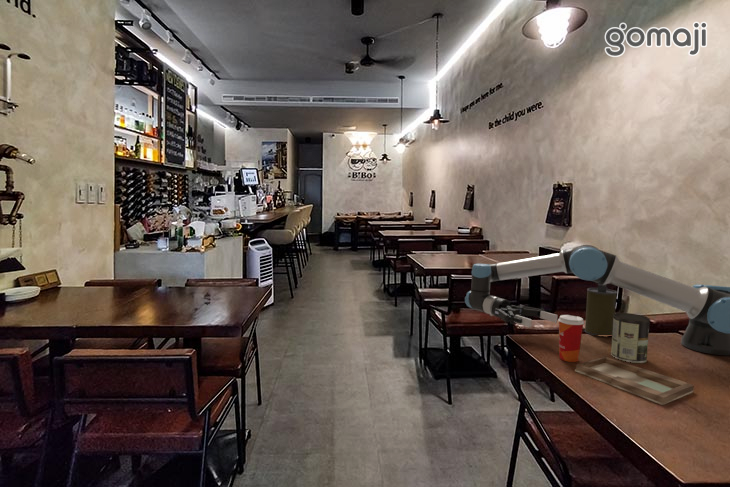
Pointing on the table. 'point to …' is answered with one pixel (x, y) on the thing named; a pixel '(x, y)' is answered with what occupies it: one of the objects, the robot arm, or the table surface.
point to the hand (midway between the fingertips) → (544, 321)
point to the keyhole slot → (634, 379)
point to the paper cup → (570, 337)
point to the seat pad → (655, 386)
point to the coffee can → (630, 337)
